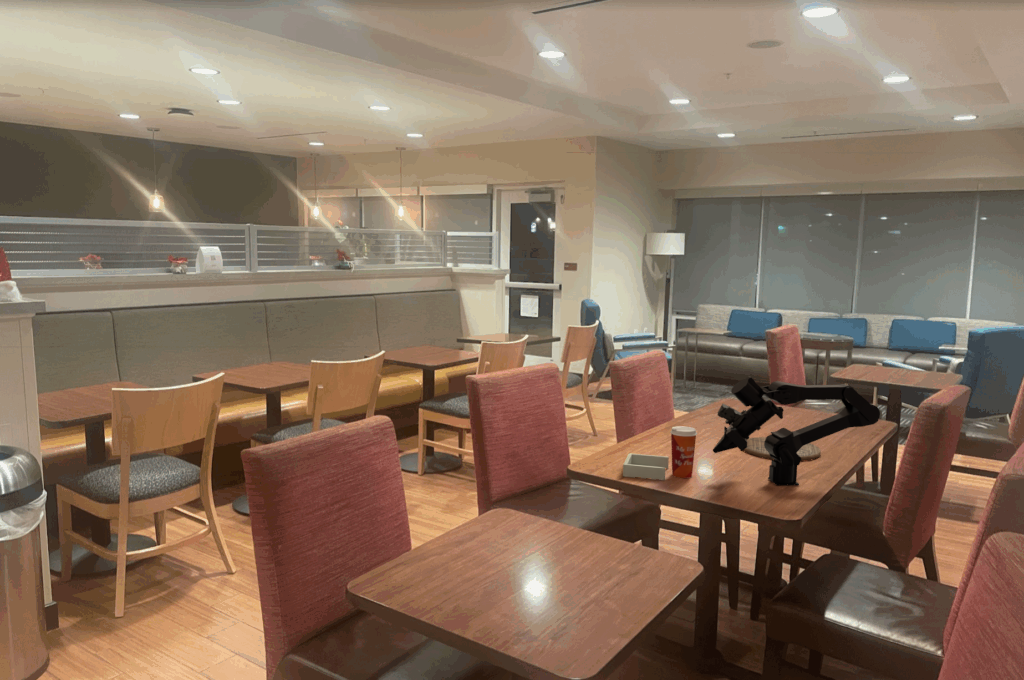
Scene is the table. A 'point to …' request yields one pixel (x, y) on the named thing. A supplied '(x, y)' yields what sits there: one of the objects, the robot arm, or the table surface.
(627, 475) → the tray
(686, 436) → the paper cup
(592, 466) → the table surface
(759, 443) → the trivet
